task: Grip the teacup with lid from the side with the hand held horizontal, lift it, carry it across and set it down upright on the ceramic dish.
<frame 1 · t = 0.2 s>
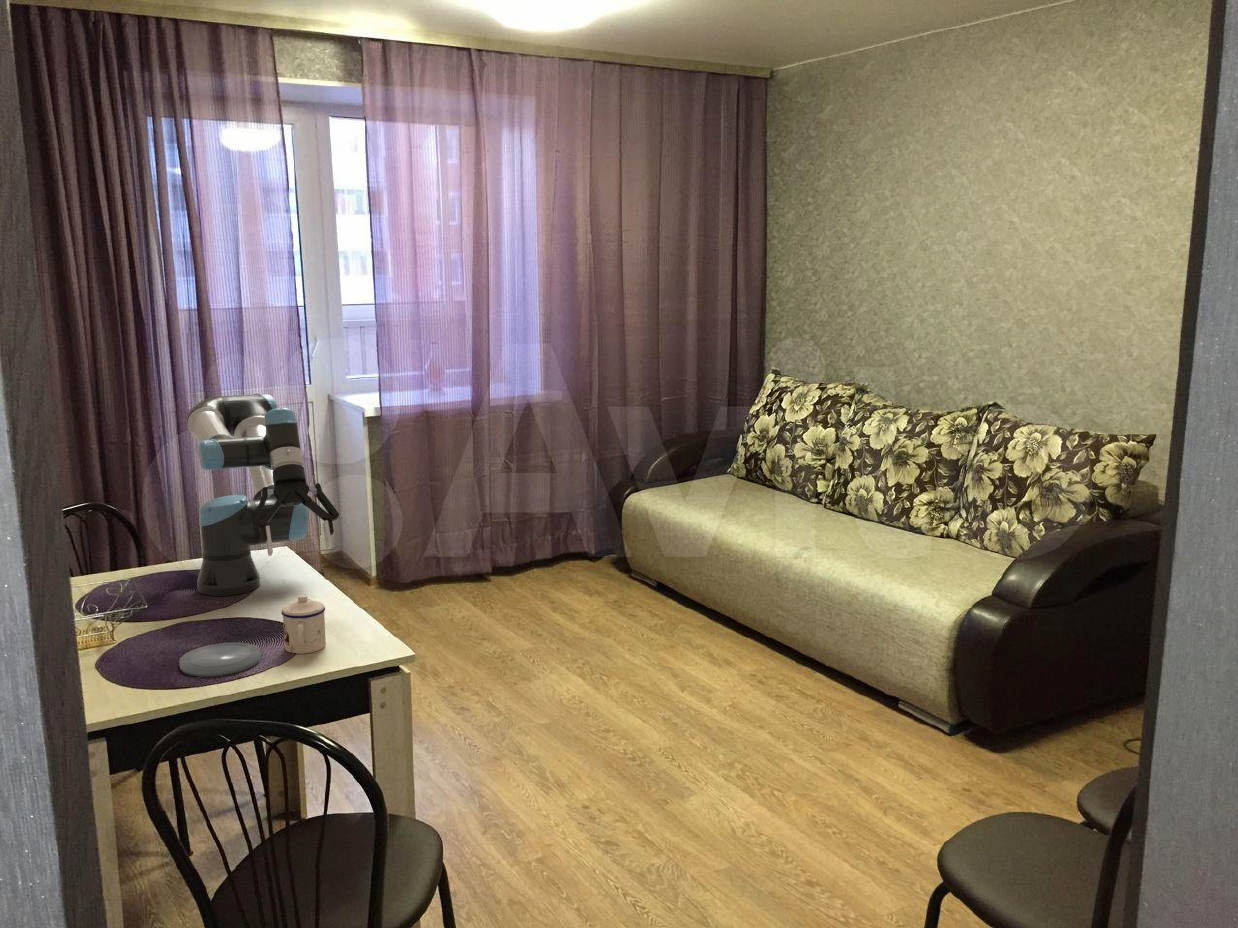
hand: (300, 550, 243), 15 cm above the table, tool tilted 35°, fingers open, 13 cm apart
dish: (220, 661, 216), on the table
teacup with lid: (304, 650, 223), on the table
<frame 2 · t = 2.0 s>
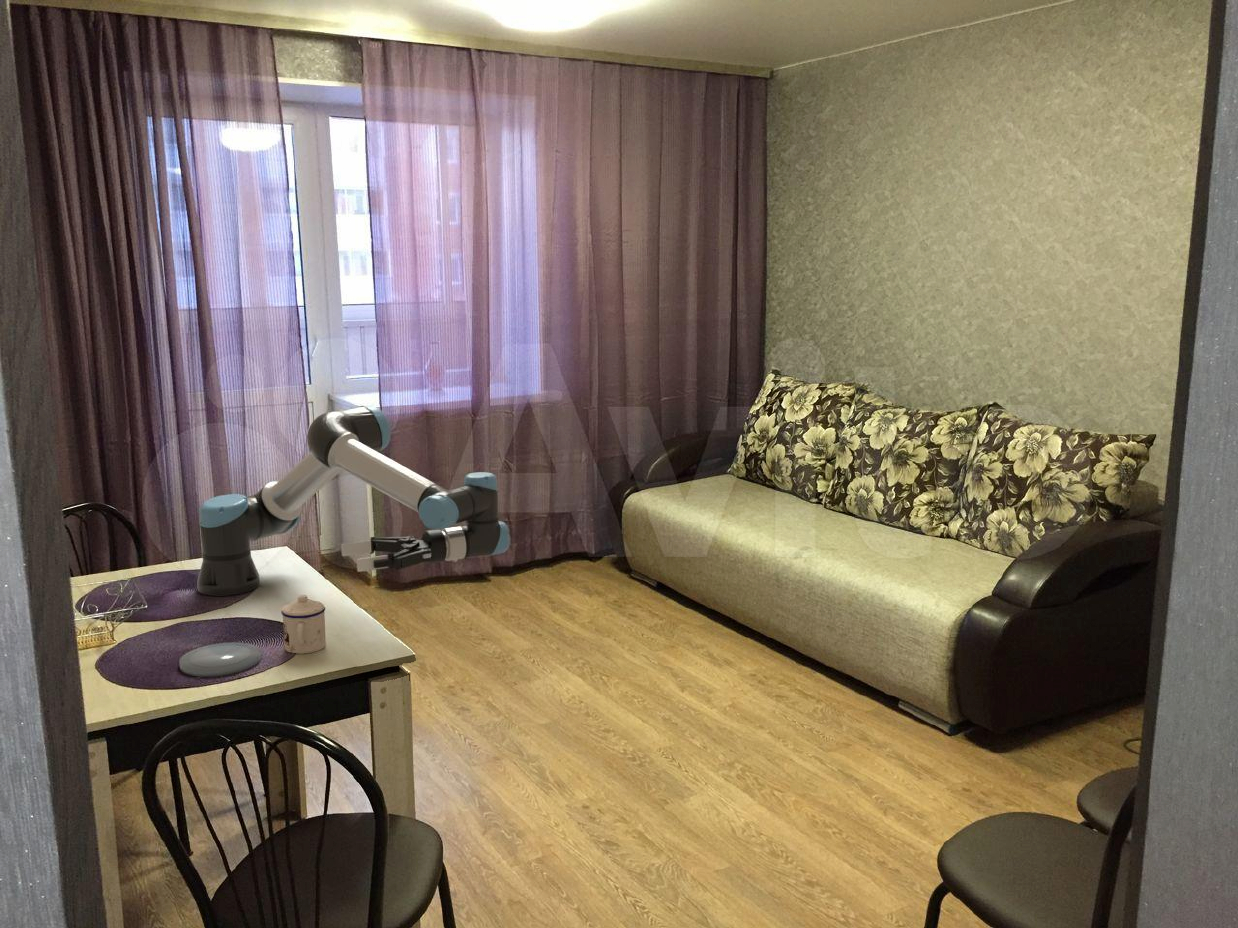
hand: (349, 557, 224), 19 cm above the table, tool horizontal, fingers open, 13 cm apart
nothing on the table moved.
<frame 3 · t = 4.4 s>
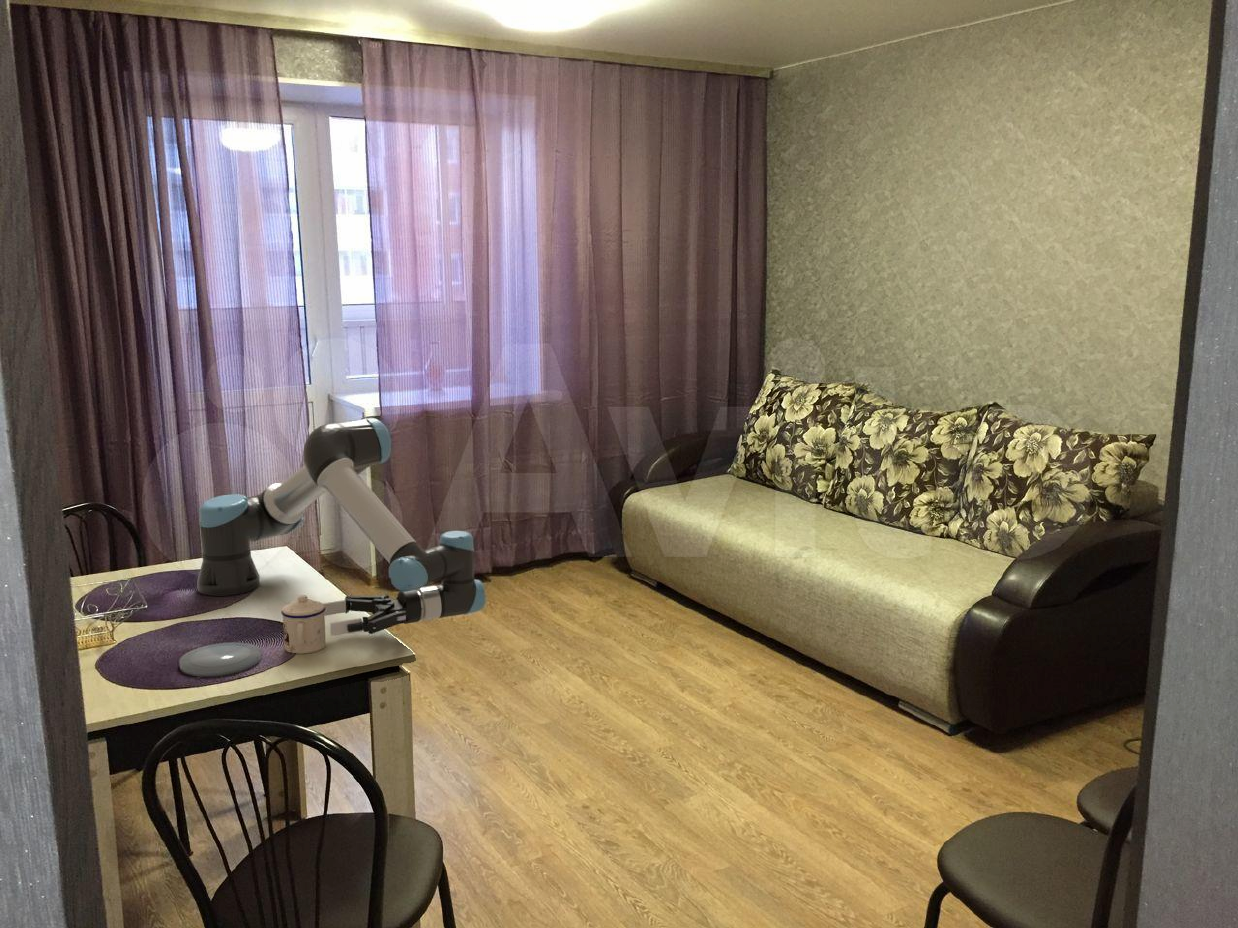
hand: (323, 619, 223), 6 cm above the table, tool horizontal, fingers open, 13 cm apart
nothing on the table moved.
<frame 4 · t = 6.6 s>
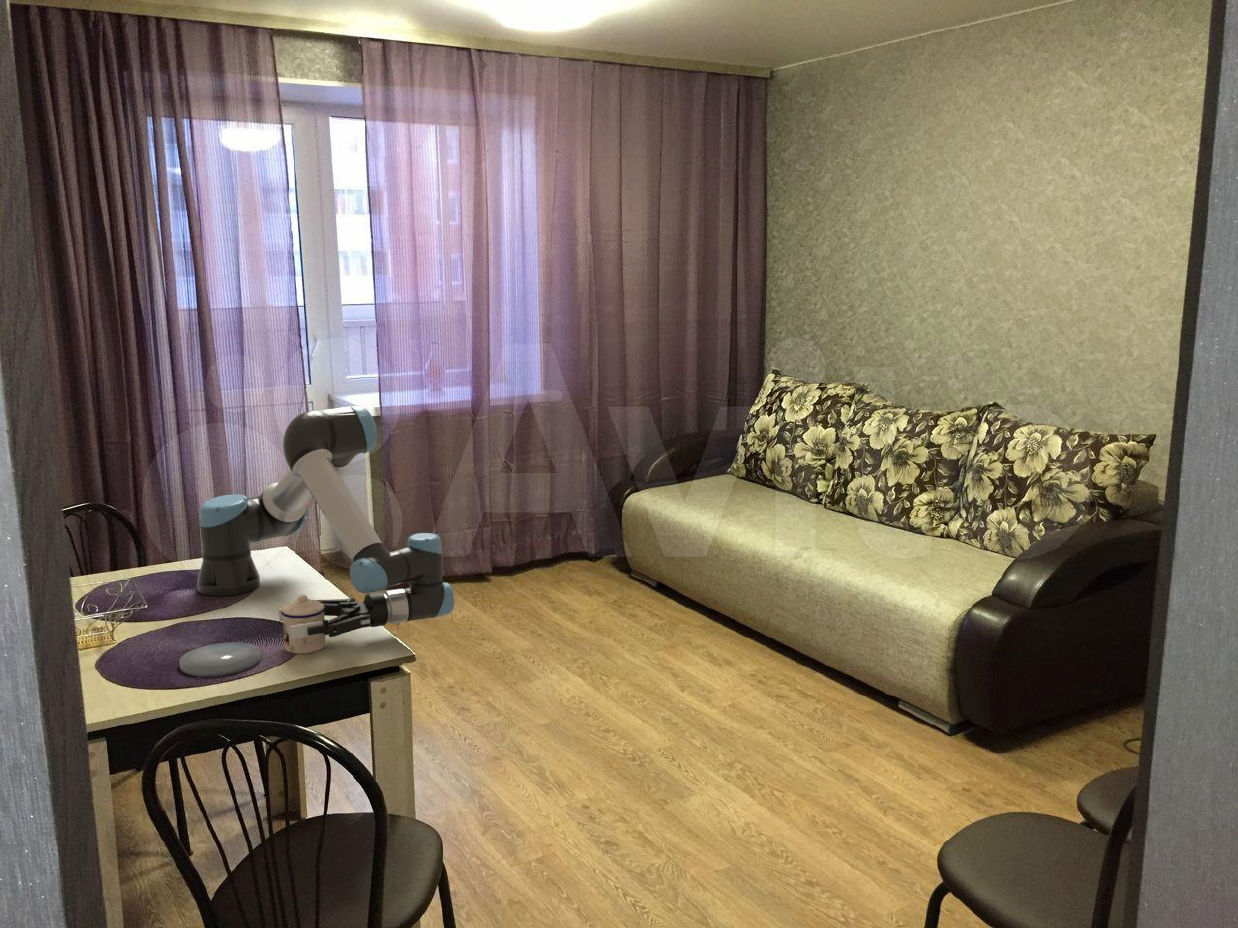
hand: (284, 623, 220), 7 cm above the table, tool horizontal, fingers closed on teacup with lid, 11 cm apart
teacup with lid: (304, 650, 223), on the table, touching gripper
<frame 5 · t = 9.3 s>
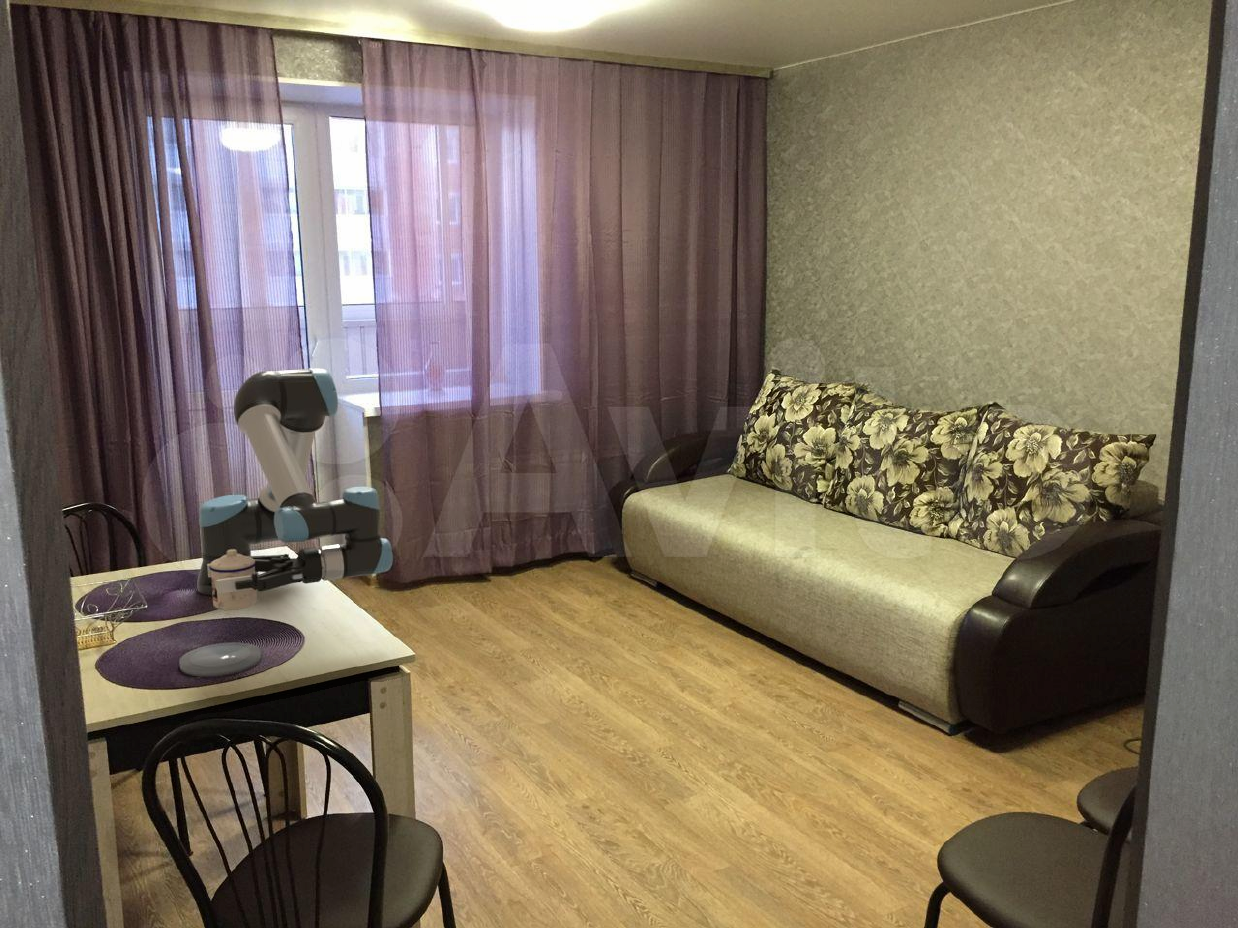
hand: (212, 578, 211), 19 cm above the table, tool horizontal, fingers closed on teacup with lid, 11 cm apart
teacup with lid: (234, 606, 214), point 12 cm above the table, touching gripper
when the fingers open (9 cm above the table, at t = 12.1 s): teacup with lid drops 1 cm, point 1 cm above the table.
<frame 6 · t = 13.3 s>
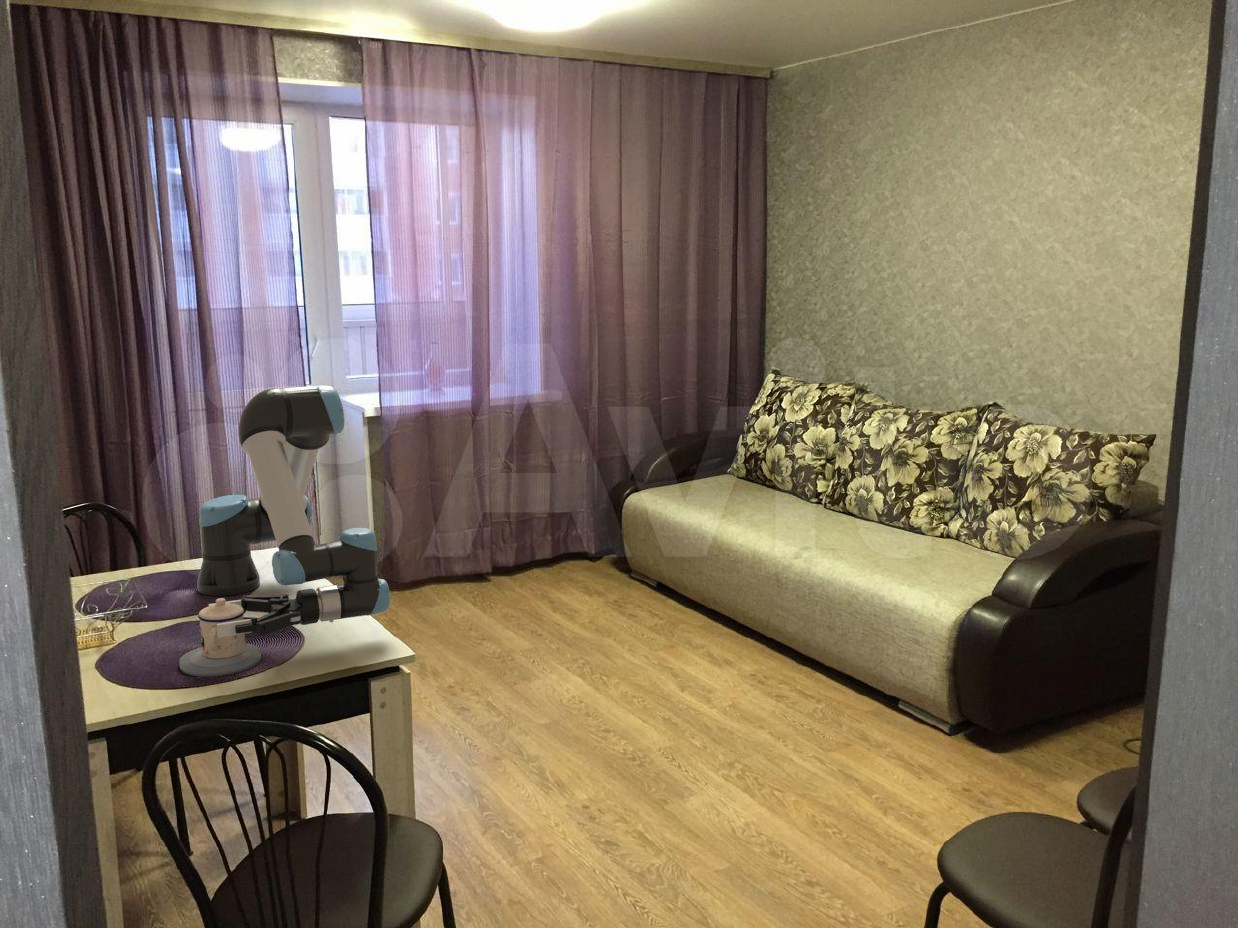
hand: (212, 620, 214), 9 cm above the table, tool horizontal, fingers open, 13 cm apart
teacup with lid: (221, 655, 216), point 1 cm above the table
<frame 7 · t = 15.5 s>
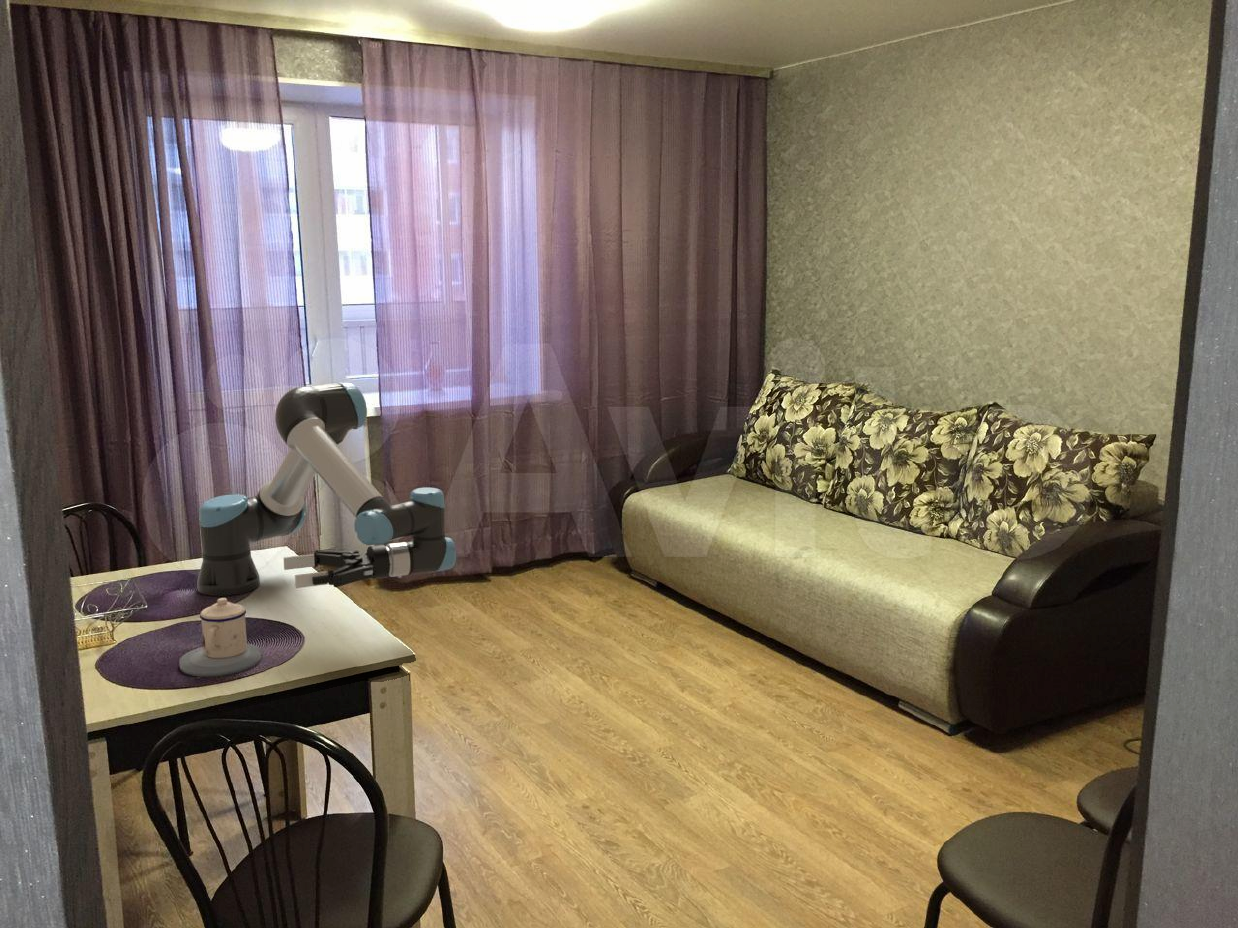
hand: (289, 572, 222), 17 cm above the table, tool horizontal, fingers open, 13 cm apart
teacup with lid: (223, 654, 217), point 1 cm above the table, touching dish
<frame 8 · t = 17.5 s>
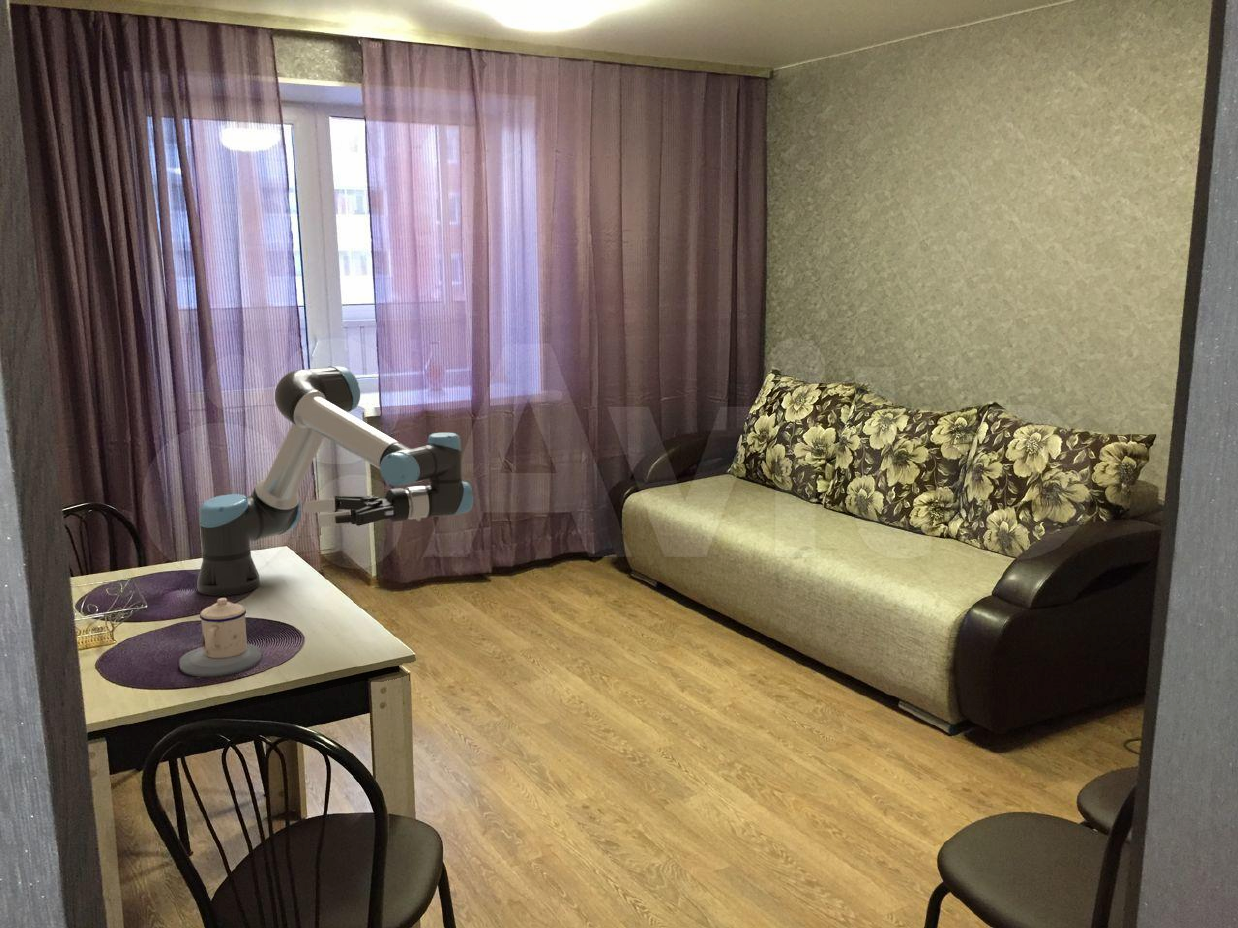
hand: (312, 513, 227), 28 cm above the table, tool horizontal, fingers open, 13 cm apart
nothing on the table moved.
at the end: teacup with lid inside the target area on the dish (1.0 cm from its centre), point 1.1 cm above the dish's base; teacup with lid tilted 0°; the gripper is holding nothing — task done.
